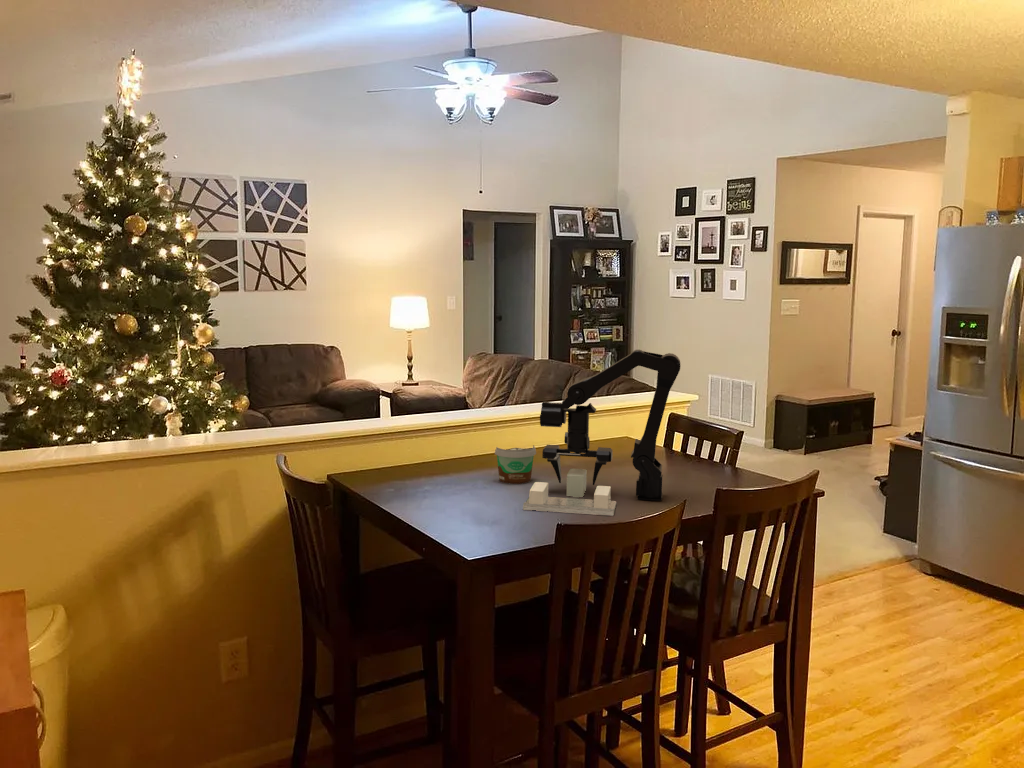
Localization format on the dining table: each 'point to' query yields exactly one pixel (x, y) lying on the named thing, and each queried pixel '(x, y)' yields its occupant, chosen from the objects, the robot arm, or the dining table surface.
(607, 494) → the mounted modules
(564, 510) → the rail plate
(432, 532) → the dining table surface
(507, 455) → the food container
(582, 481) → the block
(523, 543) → the dining table surface
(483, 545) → the dining table surface
